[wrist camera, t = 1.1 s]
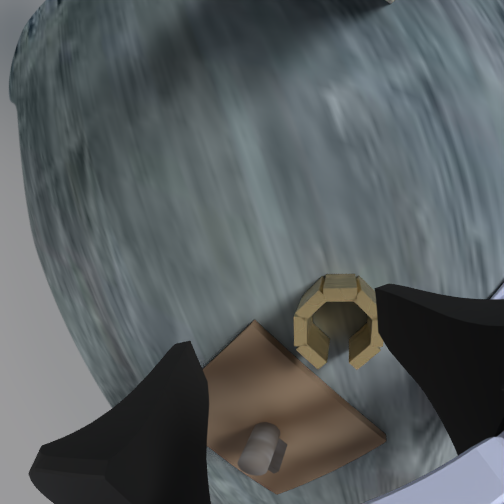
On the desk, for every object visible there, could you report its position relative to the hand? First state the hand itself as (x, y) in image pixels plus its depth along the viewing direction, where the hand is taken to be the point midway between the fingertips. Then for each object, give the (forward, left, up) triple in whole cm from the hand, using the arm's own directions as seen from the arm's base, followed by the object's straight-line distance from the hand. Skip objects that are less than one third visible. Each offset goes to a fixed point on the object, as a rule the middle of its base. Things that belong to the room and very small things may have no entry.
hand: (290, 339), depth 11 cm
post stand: (-7, +13, -11) cm, 18 cm away
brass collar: (-3, +1, -11) cm, 11 cm away
